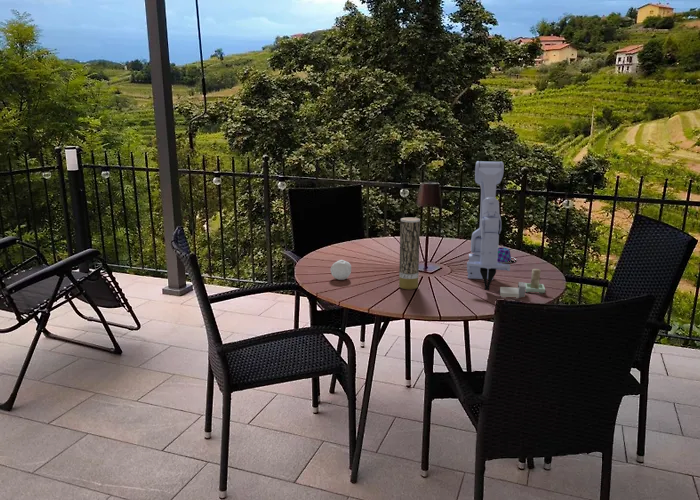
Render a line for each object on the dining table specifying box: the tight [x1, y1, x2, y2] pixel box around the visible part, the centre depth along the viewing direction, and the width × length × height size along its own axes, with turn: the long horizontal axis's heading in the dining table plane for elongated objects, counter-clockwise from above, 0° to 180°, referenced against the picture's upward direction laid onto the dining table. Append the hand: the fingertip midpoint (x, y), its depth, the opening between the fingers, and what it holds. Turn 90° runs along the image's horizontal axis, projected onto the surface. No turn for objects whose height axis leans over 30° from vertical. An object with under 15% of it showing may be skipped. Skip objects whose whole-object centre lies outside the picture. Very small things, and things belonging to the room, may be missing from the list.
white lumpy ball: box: [330, 259, 352, 281], centre depth 208 cm, size 8×8×8 cm
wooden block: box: [517, 281, 526, 298], centre depth 190 cm, size 2×5×4 cm, turn 167°
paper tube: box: [398, 217, 421, 291], centre depth 196 cm, size 7×7×25 cm
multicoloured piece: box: [497, 246, 517, 264], centre depth 236 cm, size 12×12×5 cm
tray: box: [525, 282, 546, 294], centre depth 196 cm, size 6×6×2 cm
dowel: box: [530, 268, 541, 289], centre depth 195 cm, size 3×3×7 cm
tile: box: [499, 286, 520, 299], centre depth 191 cm, size 6×7×2 cm
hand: (486, 288), depth 193 cm, fingers closed
